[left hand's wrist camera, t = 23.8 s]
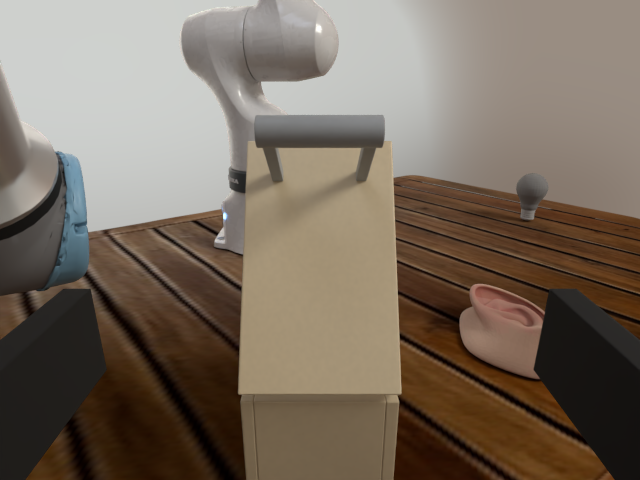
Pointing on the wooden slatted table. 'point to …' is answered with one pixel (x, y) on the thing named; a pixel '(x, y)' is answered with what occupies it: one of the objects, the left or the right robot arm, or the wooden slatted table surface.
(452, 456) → the wooden slatted table surface
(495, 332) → the anatomical model
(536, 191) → the light bulb
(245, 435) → the chest
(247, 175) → the lid
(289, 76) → the right robot arm
